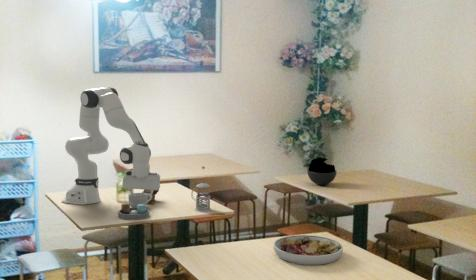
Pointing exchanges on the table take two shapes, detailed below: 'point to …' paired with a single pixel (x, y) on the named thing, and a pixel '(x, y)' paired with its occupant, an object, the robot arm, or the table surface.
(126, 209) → the walnut bead
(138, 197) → the teacup
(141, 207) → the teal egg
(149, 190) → the stuffed squirrel
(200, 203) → the french press
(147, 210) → the groove tray
